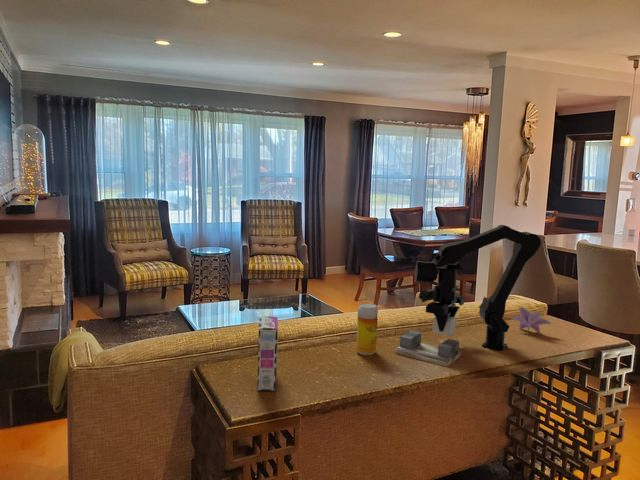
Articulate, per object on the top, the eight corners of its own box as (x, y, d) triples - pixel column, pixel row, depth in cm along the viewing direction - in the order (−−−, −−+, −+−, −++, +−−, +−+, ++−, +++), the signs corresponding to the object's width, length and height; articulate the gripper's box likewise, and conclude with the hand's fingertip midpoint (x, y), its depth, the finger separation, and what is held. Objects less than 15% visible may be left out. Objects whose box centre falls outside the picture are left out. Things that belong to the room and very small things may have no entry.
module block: (437, 329, 170) (438, 313, 169) (455, 332, 166) (456, 317, 165) (432, 332, 166) (433, 316, 165) (450, 336, 162) (451, 320, 162)
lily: (554, 341, 176) (554, 314, 180) (534, 332, 170) (535, 305, 174) (523, 342, 186) (524, 316, 189) (504, 333, 180) (505, 307, 183)
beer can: (374, 356, 153) (377, 308, 151) (355, 354, 155) (356, 307, 153) (376, 350, 159) (378, 303, 157) (357, 348, 161) (359, 302, 159)
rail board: (412, 343, 166) (413, 328, 166) (461, 355, 157) (462, 339, 156) (395, 353, 157) (396, 338, 156) (446, 366, 147) (447, 350, 147)
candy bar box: (277, 391, 128) (278, 328, 125) (257, 391, 127) (257, 328, 125) (277, 373, 139) (277, 315, 136) (258, 374, 138) (259, 315, 136)
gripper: (434, 275, 176) (432, 318, 178) (411, 284, 161) (409, 331, 163) (466, 279, 170) (463, 324, 172) (445, 289, 154) (442, 338, 157)
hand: (444, 329), depth 166 cm, fingers closed on module block, 4 cm apart
